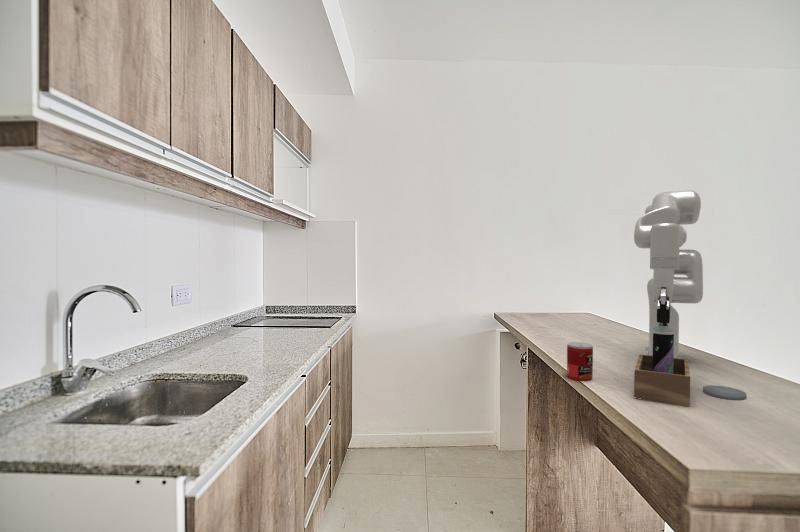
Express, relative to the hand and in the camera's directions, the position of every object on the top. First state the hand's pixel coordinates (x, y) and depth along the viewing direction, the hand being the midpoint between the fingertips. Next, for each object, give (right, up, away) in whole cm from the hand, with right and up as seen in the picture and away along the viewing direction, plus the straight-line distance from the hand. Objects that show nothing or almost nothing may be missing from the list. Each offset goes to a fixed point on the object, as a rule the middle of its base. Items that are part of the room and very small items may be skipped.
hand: (663, 320), depth 132 cm
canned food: (-21, -20, +11) cm, 31 cm away
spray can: (0, -20, +1) cm, 20 cm away
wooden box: (-3, -20, -4) cm, 21 cm away
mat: (+14, -20, -6) cm, 25 cm away
